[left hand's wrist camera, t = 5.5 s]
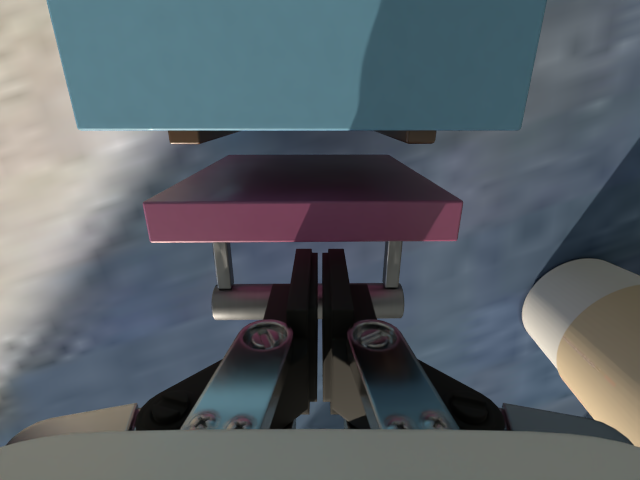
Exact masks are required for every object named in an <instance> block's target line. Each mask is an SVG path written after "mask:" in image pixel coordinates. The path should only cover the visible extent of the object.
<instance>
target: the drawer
mask: <svg viewBox="0 0 640 480" xmlns="http://www.w3.org/2000/svg"><path fill="white" fill-rule="evenodd" d="M239 131H243V130H168V133H169V140H170V143H171V144H201V143H204V142H207V141H210V140H214V139H217V138H220V137H223V136H226V135H230V134H233V133H236V132H239ZM373 131H376V132H378V133H381V134H384V135H386V136H389V137H392V138H394V139H397V140H400V141H403V142H405V143H408V144H432V143H434V142H435V138H436V130H373ZM462 207H463V201H462V200H460V199H459V198H457V197H455V196H454V195H452V194H451V193H449V192H447V191H446V190H444V189H443V188H441V187H439V186H438V185H436V184H435V183H433V182H431V181H430V180H428V179H427V178H425V177H423V176H422V175H420V174H418V173H417V172H415V171H414V170H412V169H410V168H409V167H407V166H406V165H404V164H402V163H401V162H399V161H398V160H396V159H394V158H393V157H391V156H390V155H228V156H226V157H224V158H223V159H221V160H219V161H217V162H215V163H214V164H212V165H210V166H208V167H206V168H204V169H203V170H201V171H199V172H197V173H195V174H194V175H192V176H190V177H188V178H186V179H184V180H183V181H181V182H179V183H177V184H175V185H174V186H172V187H170V188H168V189H166V190H164V191H163V192H161V193H159V194H157V195H155V196H154V197H152V198H150V199H148V200H146V201H144V202H143V208H144V213H145V218H146V223H147V229H148V234H149V239H150V242H152V243H168V242H212V245H213V253H214V261H215V269H216V277H217V285H216V286H215V288H214V291H213V295H212V314H213V317H214V319H215V320H260V319H263V318H264V314H265V311H266V307H267V303H268V300H269V296H270V292H271V288H272V285H273V284H234V278H233V268H232V258H231V248H230V242H347V241H385V255H384V268H383V283H349V284H367V285H368V288H369V292H370V296H371V300H372V303H373V307H374V311H375V314H376V318H402V316H403V312H404V294H403V289H402V286H401V284H400V283H399V273H400V262H401V252H402V241H457V239H458V232H459V226H460V220H461V213H462ZM318 319H322V284H318Z"/></svg>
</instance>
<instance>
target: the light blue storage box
mask: <svg viewBox="0 0 640 480" xmlns="http://www.w3.org/2000/svg"><path fill="white" fill-rule="evenodd" d="M546 2H547V0H47V4H48V8H49V13H50V17H51V21H52V25H53V29H54V33H55V37H56V41H57V45H58V50H59V54H60V58H61V62H62V66H63V70H64V74H65V78H66V83H67V87H68V91H69V95H70V99H71V103H72V107H73V111H74V116H75V120H76V124H77V128H78V129H79V130H81V131H101V130H520V129H521V125H522V120H523V116H524V111H525V106H526V101H527V96H528V91H529V86H530V81H531V76H532V71H533V66H534V61H535V56H536V51H537V46H538V41H539V37H540V32H541V27H542V22H543V17H544V12H545V7H546Z"/></svg>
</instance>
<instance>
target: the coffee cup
mask: <svg viewBox="0 0 640 480" xmlns="http://www.w3.org/2000/svg"><path fill="white" fill-rule="evenodd" d="M522 319H523V324H524V327H525V329H526V330H527V332H528V333H529V334H530V336H531V337H532V338H533V339H534V341H535V342H536V343H537V344H538V346H539V347H540V348H541V349H542V351H543V352H544V353H545V354H546V356H547V357H548V358H549V359H550V361H551V362H552V363H553V364H554V365H555V367H556V368H557V369H558V372H559V374H560V376H561V378H562V379H563V381H564V382H565V383H566V384H567V386H568V387H569V388H570V389H571V391H572V392H573V393H574V394H575V396H576V397H577V398H578V399H579V401H580V402H581V403H582V405H583V406H584V407H585V408H586V410H587V411H588V412H589V413H590V415H591V416H592V417H593V418H594V420H597V421H600V422H603V423H605V424H607V425H609V426H611V427H613V428H615V429H616V430H618V431H619V432H620V433H622V434H623V435H624V436H626V437H627V438H628V439H629V440H630V441H631V442H632V443H633V444H634V446H637V447H640V276H639V275H637V274H635V273H632V272H630V271H628V270H625V269H623V268H620V267H618V266H616V265H613V264H611V263H609V262H606V261H603V260H600V259H591V258H587V259H578V260H573V261H570V262H567V263H564V264H562V265H560V266H558V267H556V268H554V269H552V270H551V271H549V272H548V273H546V274H545V275H544V276H543V277H542V278H541V279H539V280H538V281H537V282H536V284H535V285H534V286H533V287H532V289H531V290H530V292H529V293H528V295H527V297H526V299H525V302H524V305H523V310H522Z"/></svg>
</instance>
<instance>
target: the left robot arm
mask: <svg viewBox="0 0 640 480" xmlns="http://www.w3.org/2000/svg"><path fill="white" fill-rule="evenodd" d="M317 350H318V253H312V249H296V254H295V260H294V266H293V272H292V278H291V284H273V285H272V288H271V292H270V296H269V300H268V303H267V307H266V311H265V314H264V318H263V320H259V321H255V322H253V323H250V324H248V325H247V326H245V327H244V328H243V329H242V330H241V331H240V332H239V333H238V335H237V337H236V338H235V340H234V342H233V343H232V345H231V346H230V348H229V350H228V351H227V353H226V355H225V356H224V358H223V359H222V360H220V361H218V362H216V363H215V364H213V365H211V366H209V367H207V368H205V369H203V370H202V371H200V372H198V373H196V374H194V375H192V376H190V377H189V378H187V379H185V380H183V381H181V382H179V383H178V384H176V385H174V386H172V387H170V388H168V389H166V390H165V391H163V392H161V393H159V394H157V395H156V396H154V397H153V398H151V399H150V400H149V401H148V402H147V403H146V404H145V405H144V406H143V407H142V408H138V405H137V403H134V404H128V405H122V406H117V407H111V408H105V409H100V410H94V411H89V412H83V413H77V414H72V415H66V416H60V417H55V418H50V419H47V420H43V421H40V422H37V423H35V424H33V425H31V426H29V427H27V428H25V429H24V430H22V431H21V432H20V433H18V434H17V435H16V436H14V437H13V438H12V439H11V440H10V441H9V442H8V443H7V444H6V446H3V447H0V480H640V447H637V446H634V444H633V443H632V442H631V441H630V440H629V439H628V438H627V437H626V436H624V435H623V434H622V433H620V432H619V431H618V430H616V429H615V428H613V427H611V426H609V425H607V424H605V423H603V422H600V421H597V420H593V419H590V418H585V417H580V416H574V415H568V414H563V413H557V412H551V411H546V410H540V409H535V408H529V407H523V406H518V405H512V404H506V403H503V405H502V408H498V407H497V406H496V405H495V404H494V403H493V402H492V401H491V400H490V399H489V398H487V397H486V396H484V395H483V394H481V393H479V392H477V391H475V390H474V389H472V388H470V387H468V386H466V385H464V384H462V383H461V382H459V381H457V380H455V379H453V378H451V377H450V376H448V375H446V374H444V373H442V372H440V371H438V370H437V369H435V368H433V367H431V366H429V365H427V364H425V363H424V362H422V361H420V360H418V359H417V358H416V356H415V355H414V353H413V351H412V350H411V348H410V346H409V345H408V343H407V342H406V340H405V338H404V337H403V335H402V333H401V332H400V331H399V330H398V329H397V328H396V327H395V326H393V325H392V324H390V323H387V322H385V321H381V320H377V318H376V314H375V311H374V307H373V303H372V300H371V296H370V292H369V288H368V285H367V284H349V278H348V272H347V266H346V260H345V254H344V249H328V253H322V351H323V402H330V409H331V414H339V415H341V416H342V417H343V418H344V429H296V418H297V417H298V416H299V415H301V414H309V409H310V402H317Z"/></svg>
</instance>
